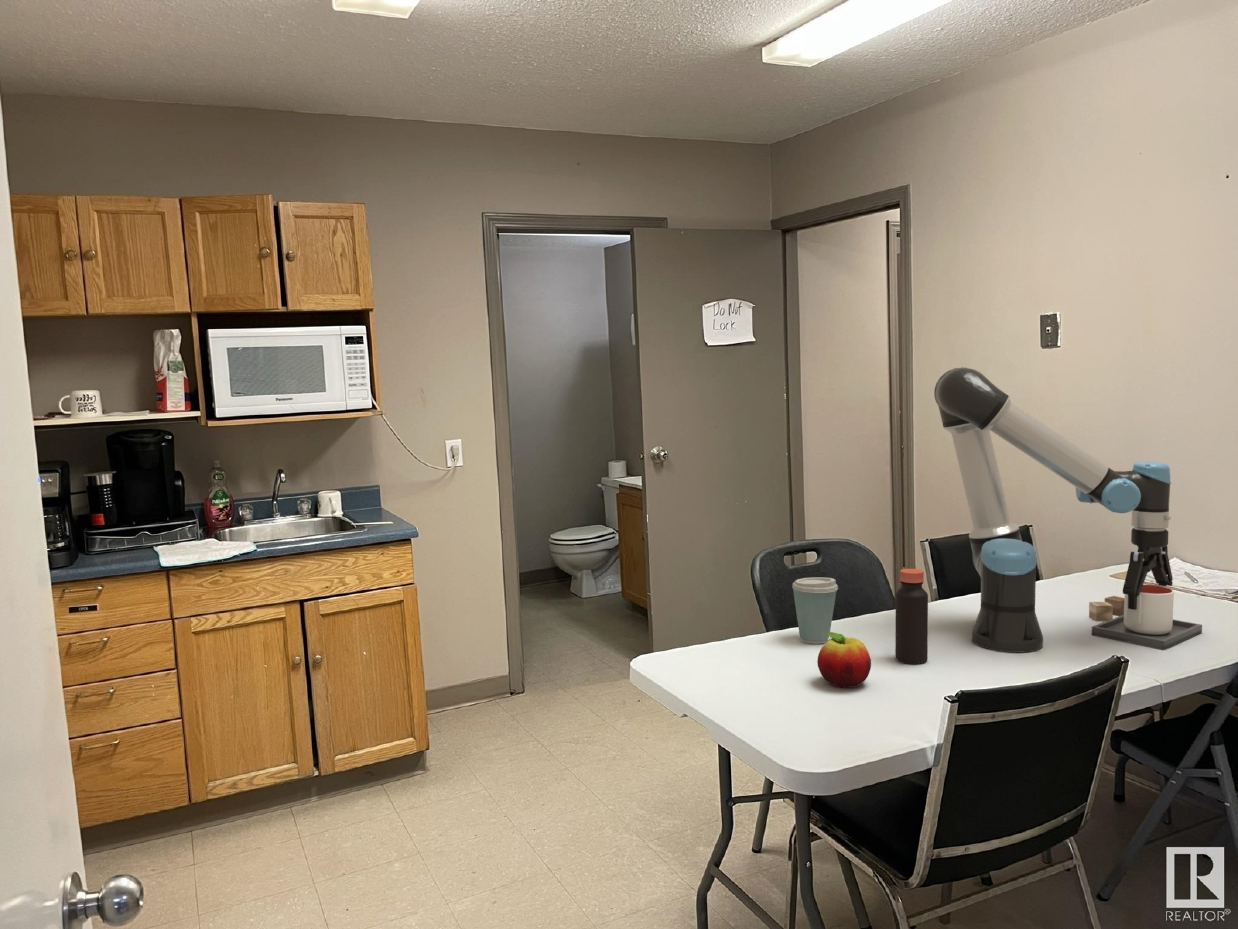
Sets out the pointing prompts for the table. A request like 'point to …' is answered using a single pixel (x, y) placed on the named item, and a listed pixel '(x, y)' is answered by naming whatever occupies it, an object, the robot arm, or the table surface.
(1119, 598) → the walnut block
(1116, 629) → the tray
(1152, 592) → the cup
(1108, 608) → the maple block
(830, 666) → the fruit
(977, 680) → the table surface
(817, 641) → the disposable coffee cup
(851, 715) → the table surface
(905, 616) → the bottle
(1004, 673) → the table surface
